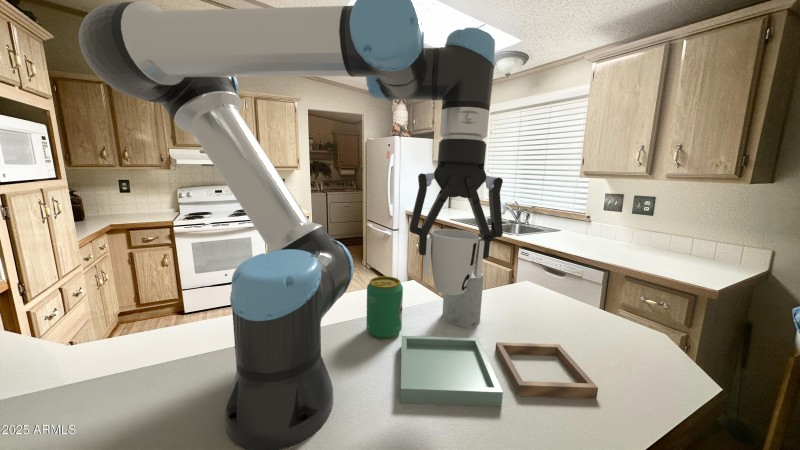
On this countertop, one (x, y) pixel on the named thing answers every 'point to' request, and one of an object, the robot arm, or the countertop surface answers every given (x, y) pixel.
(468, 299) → the grey stone cylinder
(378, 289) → the beverage can
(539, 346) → the frame
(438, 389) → the tray
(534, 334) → the countertop surface
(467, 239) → the cup
